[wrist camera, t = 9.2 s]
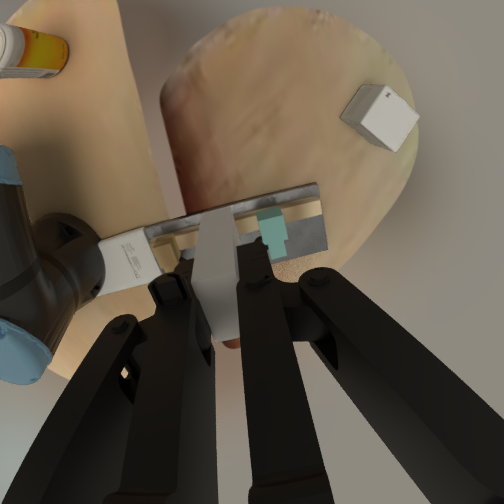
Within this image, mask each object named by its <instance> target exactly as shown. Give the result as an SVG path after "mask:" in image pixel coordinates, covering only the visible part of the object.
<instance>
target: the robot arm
mask: <svg viewBox="0 0 504 504" xmlns="http://www.w3.org/2000/svg"><path fill="white" fill-rule="evenodd" d="M22 186H23V182H22V180H21V179H20V176H19V172H18V168H17V163H16V158H15V155H14V153H13V151H12V150H11V149H10V148H9V147H7V146H5V145H0V379H1V380H3V381H6V382H8V383H12V384H17V385H29V384H32V383H35V382H36V381H37V380H39V379H40V378H41V376H42V374H43V373H44V371H45V369H46V367H47V366H48V365H49V364H50V363H51V362H52V359H53V356H54V354H55V352H56V350H57V348H58V345H59V343H60V341H61V339H62V337H63V335H64V333H65V331H66V329H67V327H68V325H69V323H70V321H71V319H72V318H73V315H74V314H75V312H76V311H77V310H79V309H80V308H82V307H83V306H85V305H86V304H88V303H89V302H91V301H92V300H93V299H94V298H95V297H96V296H97V295H98V294H99V293H100V291H101V289H102V287H103V285H104V281H105V275H106V268H105V262H104V258H103V255H102V252H101V250H100V248H99V246H98V243H99V242H100V241H101V240H100V239H99V237H98V236H97V234H96V233H95V232H94V231H93V230H92V229H91V228H90V227H89V226H88V225H87V224H86V223H84V222H83V221H82V220H80V219H78V218H76V217H74V216H71V215H68V214H64V213H53V214H48V215H46V216H43V217H42V218H40V219H39V220H38V221H36V222H35V223H34V224H33V225H32V226H31V224H30V220H29V216H28V212H27V207H26V203H25V198H24V193H23V188H22ZM148 289H149V291H150V293H151V295H152V298H153V300H154V302H155V304H156V310H155V314H154V315H153V316H151V317H149V318H147V319H144V320H142V321H140V322H138V320H137V318H136V317H135V316H134V315H131V314H125V315H120V316H117V317H115V318H114V319H113V320H112V321H110V322H109V323H108V324H107V325H106V326H105V328H104V329H103V331H102V332H101V334H100V335H99V337H98V338H97V340H96V341H95V343H94V344H93V346H92V347H91V349H90V350H89V352H88V353H87V355H86V356H85V358H84V359H83V361H82V362H81V364H80V366H79V367H78V369H77V370H76V372H75V373H74V375H73V377H72V378H71V380H70V381H69V383H68V385H67V386H66V388H65V389H64V391H63V393H62V394H61V396H60V397H59V399H58V401H57V402H56V404H55V406H54V408H53V409H52V411H51V412H50V414H49V416H48V417H47V419H46V421H45V423H44V424H43V426H42V428H41V430H40V431H39V433H38V435H37V437H36V438H35V440H34V442H33V444H32V446H31V447H30V449H29V451H28V453H27V455H26V456H25V458H24V460H23V462H22V464H21V466H20V468H19V470H18V472H17V473H16V475H15V477H14V479H13V481H12V483H11V485H10V487H9V489H8V491H7V493H6V495H5V498H4V499H3V501H2V504H218V482H217V450H216V405H215V404H216V403H215V351H214V347H213V345H212V343H211V334H212V336H213V339H214V341H215V343H216V342H221V341H226V340H230V339H235V338H239V337H240V345H241V358H242V370H243V381H244V393H245V404H246V415H247V426H248V437H249V447H250V458H251V468H252V480H253V482H252V487H251V488H250V489H249V494H248V504H335V503H334V499H333V495H332V491H331V487H330V483H329V479H328V476H327V473H326V470H325V466H324V463H323V459H322V455H321V451H320V447H319V443H318V439H317V435H316V431H315V427H314V423H313V420H312V415H311V411H310V408H309V403H308V400H307V396H306V392H305V388H304V384H303V380H302V377H301V373H300V369H299V365H298V361H297V357H296V354H295V350H294V346H293V342H294V341H296V342H297V341H309V343H310V345H311V347H312V348H313V350H314V351H315V352H316V354H317V355H318V356H319V358H320V359H321V360H322V362H323V363H324V364H325V366H326V367H327V368H328V370H329V371H330V372H331V374H332V375H333V376H334V378H335V379H336V380H337V382H338V383H339V384H340V386H341V387H342V388H343V390H344V391H345V392H346V393H347V395H348V396H349V397H350V399H351V400H352V401H353V403H354V404H355V405H356V407H357V408H358V409H359V411H360V412H361V413H362V415H363V416H364V417H365V418H366V420H367V421H368V422H369V424H370V425H371V426H372V428H373V429H374V430H375V432H376V433H377V434H378V436H379V437H380V438H381V439H382V441H383V442H384V443H385V445H386V446H387V447H388V449H389V450H390V451H391V453H392V454H393V455H394V456H395V458H396V459H397V460H398V461H399V463H400V464H401V466H402V467H403V468H404V469H405V471H406V472H407V473H408V475H409V476H410V477H411V479H412V480H413V481H414V482H415V484H416V485H417V486H418V488H419V489H420V490H421V491H422V493H423V494H424V495H425V497H426V498H427V499H428V500H429V502H430V503H431V504H504V419H503V418H502V417H500V416H499V415H498V414H497V413H496V412H495V411H494V410H493V409H492V408H491V407H490V406H489V405H488V404H487V403H486V402H485V401H484V400H483V399H482V398H481V397H479V396H478V395H477V394H476V393H475V392H474V391H473V390H472V389H471V388H470V387H469V386H468V385H467V384H465V383H464V382H463V381H462V380H461V379H460V378H459V377H458V376H457V375H456V374H455V373H453V372H452V371H451V370H450V369H449V368H448V367H447V366H446V365H445V364H444V363H443V362H441V361H440V360H439V359H438V358H437V357H436V356H435V355H434V354H433V353H431V352H430V351H429V350H428V349H427V348H426V347H425V346H424V345H422V344H421V343H420V342H419V341H418V340H417V339H416V338H415V337H413V336H412V335H411V334H410V333H409V332H407V330H405V329H404V328H403V327H402V326H401V325H400V324H399V323H397V322H396V321H395V320H394V319H393V318H392V317H390V316H389V315H388V314H387V313H386V312H385V311H383V310H382V309H381V308H380V307H379V306H378V305H377V304H375V303H374V302H373V301H371V299H369V298H368V297H367V296H366V295H365V294H364V293H362V292H361V291H360V290H359V289H357V288H356V287H355V286H354V285H353V284H352V283H350V282H349V281H348V280H347V279H346V278H345V277H343V276H342V275H341V274H340V273H339V272H337V271H336V270H334V269H332V268H327V267H320V268H319V267H318V268H314V269H310V270H308V271H306V272H305V273H303V274H302V275H301V276H300V277H299V281H298V282H295V283H289V282H282V281H280V280H278V279H277V278H275V276H274V274H273V270H272V267H271V263H270V260H269V256H268V252H267V249H266V245H265V244H264V243H262V242H260V241H255V242H251V243H247V244H244V245H241V242H240V238H239V235H238V231H237V228H236V224H235V220H234V217H233V213H232V210H231V206H228V207H224V208H220V209H217V210H213V211H209V212H205V213H202V215H201V221H200V227H199V233H198V239H197V245H196V251H195V258H192V259H188V260H184V261H180V262H179V264H178V265H177V266H176V267H175V268H174V271H173V272H167V273H165V274H162V275H160V276H158V277H156V278H155V279H153V280H152V281H151V282H150V283H149V285H148ZM124 367H125V369H126V370H127V372H128V375H127V377H126V378H123V376H122V375H121V372H122V370H123V368H124Z"/></svg>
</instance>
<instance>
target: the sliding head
mask: <svg viewBox="0 0 504 504" xmlns="http://www.w3.org/2000/svg"><path fill="white" fill-rule="evenodd" d="M256 216H257V220H258V224H259V228H260V232H261V236H262V240H263V243H264V244H265V245H267V244H268V248H269V252H270V256H271V259H276V258H280V257H284V256H287V254H286V249H285V244H284V240H287V239H288V236H287V231H286V226H285V222H284V217H283V214H282V212H281V210H280V208H279V206H278V207H274V208H270V209H266V210H262V211H258V212H256Z"/></svg>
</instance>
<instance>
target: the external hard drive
mask: <svg viewBox="0 0 504 504" xmlns="http://www.w3.org/2000/svg"><path fill="white" fill-rule="evenodd" d="M149 243H150V241H149V238H148V236H147V233H146V231H145V226H143V227H140V228H138V229H134V230H131V231H128V232H125V233H122V234H119V235H116V236H113V237H110V238H107V239H104V240H101V241H100V242H99V243H98V246H99V248H100V250H101V252H102V255H103V258H104V262H105V268H106V275H105V281H104V285H103V287H102V289H101V291H100V293H99V294H98V295H97V296H96V297H98V296H102V295H105V294H109V293H113V292H117V291H120V290H124V289H128V288H132V287H135V286H139V285H143V284H147V283H150V282H151V281H152V280H153V279H155V278H156V277H158V276H160V275H162V274H163V272H162V270H161V268H160V266H159V263H158V261H157V259H156V257H154V255H153V253H152V250H151V248H150V245H149Z"/></svg>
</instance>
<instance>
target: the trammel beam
mask: <svg viewBox="0 0 504 504" xmlns="http://www.w3.org/2000/svg"><path fill="white" fill-rule="evenodd" d="M278 206H279V208H280V210H281V212H282V214H283V217H284V222H285V223H288V222H292V221H296V220H300V219H305V218H309V217H313V216H317V215H321V214H322V209H321V203H320V199H319V198H318V197H317V196H312V197H307V198H303V199H299V200H295V201H291V202H286V203H282V204H278V205H274V206H270V207H266V208H262V209H258V210H254V211H250V212H246V213H242V214H239V215H235V216H233V217H234V220H235V224H236V228H237V231H238V235H241V234H245V233H248V232H252V231H256V230H260V228H259V224H258V220H257V216H256V212H258V211H262V210H266V209H270V208H274V207H278ZM199 227H200V225H197V226H193V227H189V228H186V229H182V230H178V231H175V232H171V233H168V234H164V235H161V236H157V237H153V238H152V239H151V241H150V243H149V245H150V248H151V250H152V253H153V255H154V257H156V259H157V261H158V263H159V266H160V268H161V269H162V268H164V271H165V273H167V272H173V271H174V268H175V267H176V266H177V265H178V264H179V259H180V255H181V252H180V250H183V249H187V248H190V247H194V246H196V245H197V239H198V233H199Z"/></svg>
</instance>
